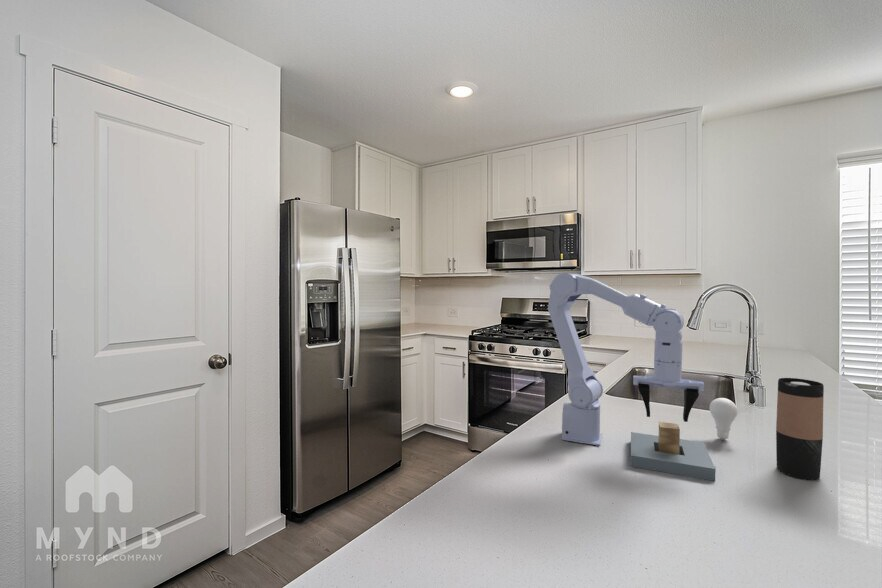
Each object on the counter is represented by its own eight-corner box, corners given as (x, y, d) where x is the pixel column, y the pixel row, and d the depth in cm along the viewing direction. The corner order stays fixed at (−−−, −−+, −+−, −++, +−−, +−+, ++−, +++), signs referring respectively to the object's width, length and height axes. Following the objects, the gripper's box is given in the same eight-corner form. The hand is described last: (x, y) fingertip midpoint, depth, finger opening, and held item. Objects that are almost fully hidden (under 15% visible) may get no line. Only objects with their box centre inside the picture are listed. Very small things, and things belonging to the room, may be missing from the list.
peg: (659, 461, 96) (659, 426, 96) (658, 454, 100) (658, 421, 99) (679, 464, 94) (679, 429, 94) (677, 457, 98) (677, 424, 98)
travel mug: (810, 468, 92) (813, 379, 92) (829, 483, 85) (832, 387, 85) (769, 463, 95) (771, 376, 94) (784, 478, 88) (786, 384, 87)
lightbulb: (741, 445, 106) (742, 402, 105) (714, 443, 107) (715, 400, 107) (730, 436, 112) (731, 395, 111) (704, 434, 113) (705, 394, 112)
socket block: (630, 466, 93) (631, 455, 93) (630, 441, 107) (631, 432, 107) (715, 480, 86) (715, 469, 86) (703, 452, 101) (703, 442, 101)
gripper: (633, 360, 97) (632, 418, 97) (706, 366, 91) (705, 428, 91) (633, 356, 103) (632, 410, 103) (702, 361, 97) (700, 418, 97)
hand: (666, 418), depth 98 cm, fingers open, 7 cm apart
